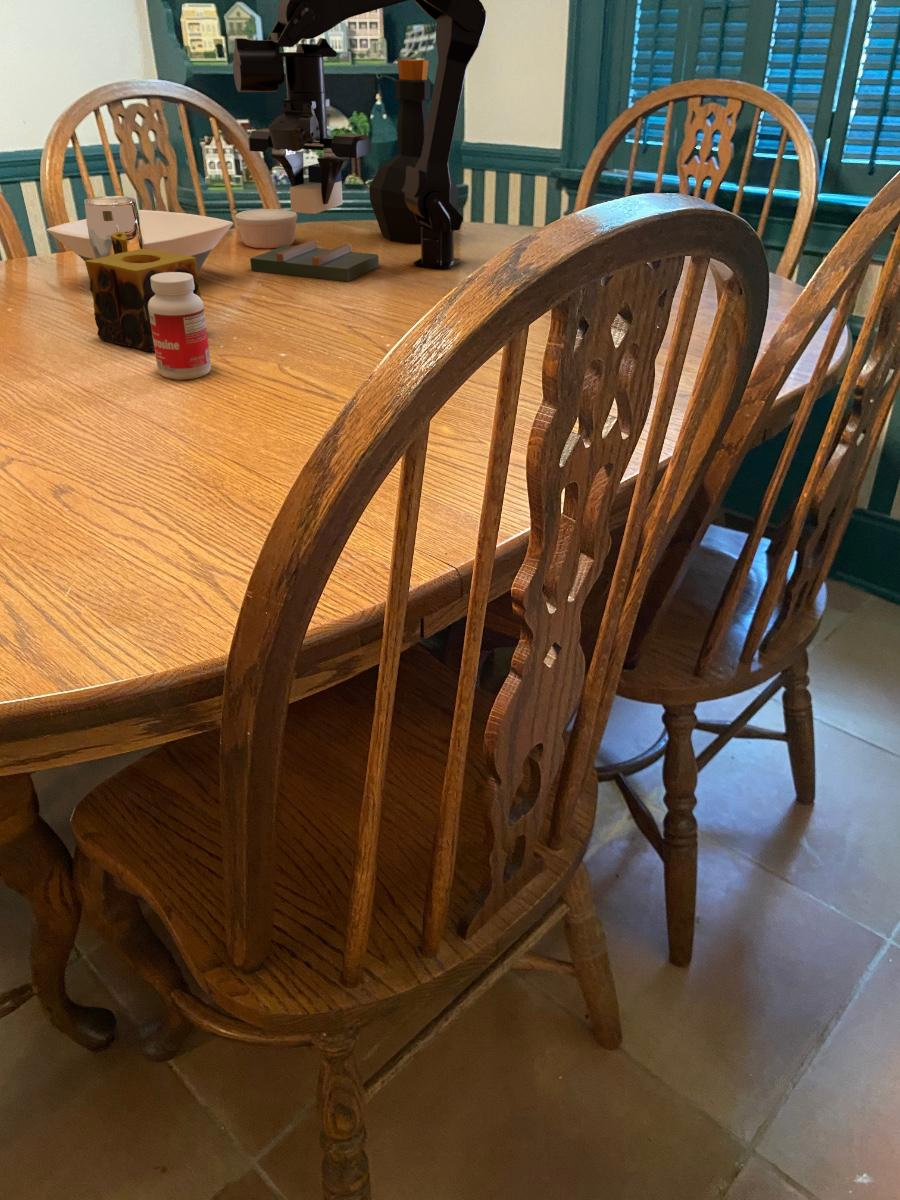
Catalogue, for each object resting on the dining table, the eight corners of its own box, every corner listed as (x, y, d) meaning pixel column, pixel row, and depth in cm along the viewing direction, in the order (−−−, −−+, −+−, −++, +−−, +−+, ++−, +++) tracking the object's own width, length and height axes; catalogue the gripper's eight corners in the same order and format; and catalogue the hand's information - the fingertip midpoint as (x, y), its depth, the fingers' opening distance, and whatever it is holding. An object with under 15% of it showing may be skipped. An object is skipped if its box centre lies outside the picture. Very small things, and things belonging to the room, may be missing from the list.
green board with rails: (287, 256, 161) (285, 237, 160) (378, 266, 156) (378, 247, 154) (251, 270, 152) (249, 250, 150) (347, 281, 146) (346, 261, 145)
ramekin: (228, 247, 166) (225, 217, 164) (252, 236, 176) (249, 207, 173) (285, 251, 165) (283, 220, 162) (307, 239, 174) (305, 210, 171)
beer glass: (140, 322, 125) (120, 205, 117) (94, 318, 126) (71, 202, 118) (163, 309, 131) (146, 197, 123) (119, 305, 132) (99, 194, 124)
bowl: (44, 287, 140) (31, 229, 136) (149, 259, 157) (141, 207, 153) (152, 306, 132) (142, 245, 127) (251, 275, 149) (245, 220, 144)
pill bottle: (148, 372, 108) (132, 276, 102) (190, 360, 112) (177, 267, 106) (179, 384, 104) (164, 286, 98) (222, 372, 108) (211, 276, 102)
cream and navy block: (320, 202, 152) (317, 163, 148) (342, 204, 150) (341, 164, 147) (291, 212, 144) (288, 170, 140) (314, 214, 142) (312, 172, 139)
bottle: (409, 249, 168) (408, 61, 152) (356, 235, 178) (349, 58, 162) (472, 238, 177) (476, 60, 161) (417, 225, 187) (416, 57, 171)
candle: (150, 354, 113) (136, 271, 108) (96, 340, 118) (80, 260, 112) (209, 334, 121) (199, 256, 115) (155, 322, 125) (143, 246, 120)
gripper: (223, 92, 133) (235, 206, 142) (337, 97, 128) (342, 215, 136) (262, 88, 142) (271, 195, 150) (370, 93, 137) (373, 204, 145)
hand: (312, 202), depth 145 cm, fingers closed on cream and navy block, 4 cm apart
